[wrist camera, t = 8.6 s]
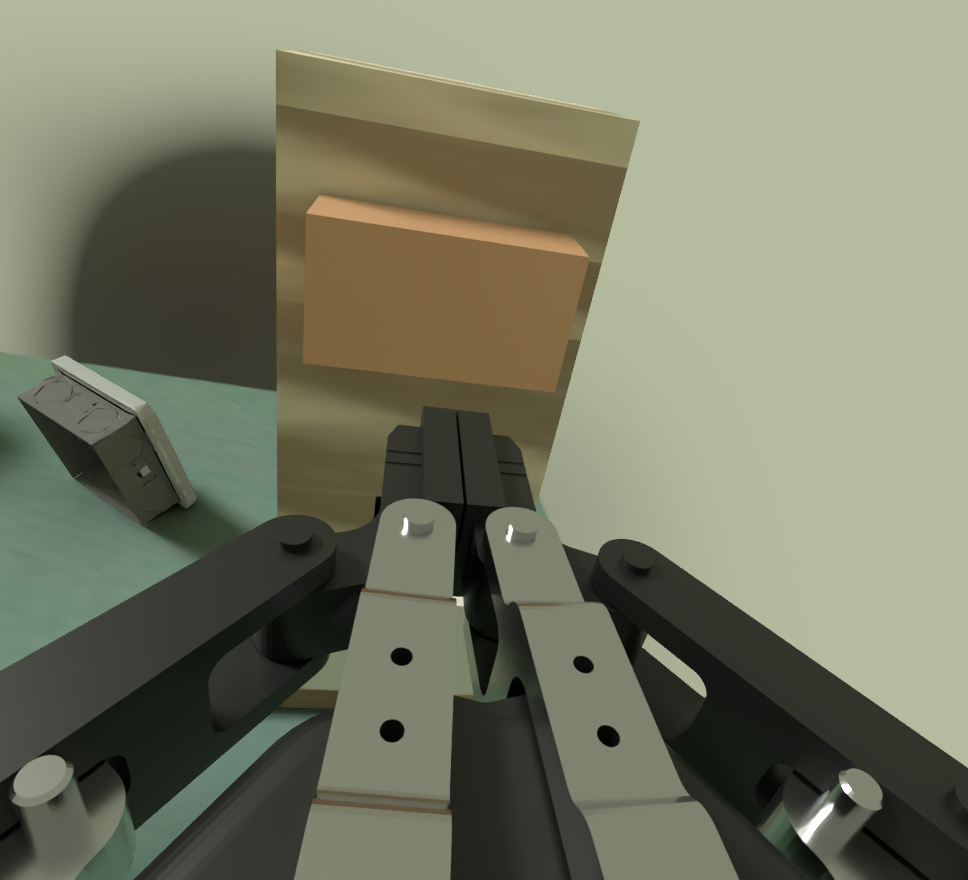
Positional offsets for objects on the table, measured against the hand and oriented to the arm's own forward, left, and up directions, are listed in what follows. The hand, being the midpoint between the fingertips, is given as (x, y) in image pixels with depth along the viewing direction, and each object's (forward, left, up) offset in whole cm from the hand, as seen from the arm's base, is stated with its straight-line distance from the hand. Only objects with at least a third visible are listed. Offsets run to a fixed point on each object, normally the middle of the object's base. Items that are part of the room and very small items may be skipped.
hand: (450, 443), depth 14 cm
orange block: (+9, +8, -2) cm, 12 cm away
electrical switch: (+6, +30, -22) cm, 37 cm away
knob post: (+11, +9, -22) cm, 26 cm away
